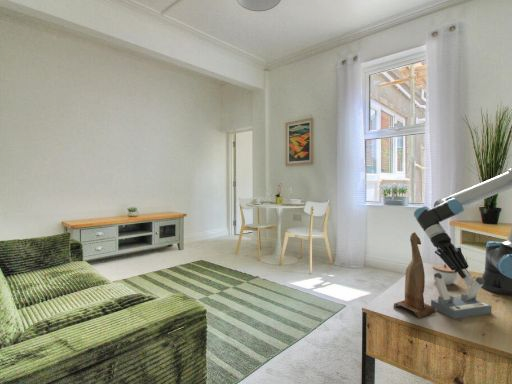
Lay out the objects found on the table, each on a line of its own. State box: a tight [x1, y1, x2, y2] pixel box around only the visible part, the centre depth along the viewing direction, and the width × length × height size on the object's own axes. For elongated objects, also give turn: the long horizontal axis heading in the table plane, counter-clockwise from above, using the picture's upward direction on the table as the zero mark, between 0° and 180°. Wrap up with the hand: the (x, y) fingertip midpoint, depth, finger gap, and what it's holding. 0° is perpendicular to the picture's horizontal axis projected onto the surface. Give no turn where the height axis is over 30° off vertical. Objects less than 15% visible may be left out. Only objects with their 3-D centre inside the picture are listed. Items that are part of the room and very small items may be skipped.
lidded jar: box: [432, 263, 458, 286], centre depth 142 cm, size 11×11×9 cm
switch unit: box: [430, 292, 492, 320], centre depth 112 cm, size 10×19×6 cm, turn 105°
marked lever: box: [465, 276, 485, 299], centre depth 113 cm, size 3×4×12 cm
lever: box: [433, 273, 451, 303], centre depth 114 cm, size 3×4×12 cm
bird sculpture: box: [393, 231, 436, 320], centre depth 112 cm, size 11×12×32 cm
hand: (471, 285), depth 113 cm, fingers closed
